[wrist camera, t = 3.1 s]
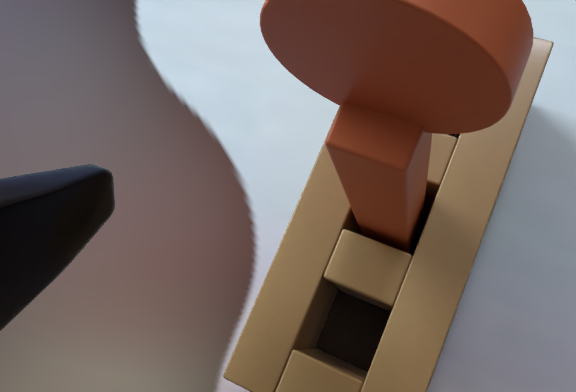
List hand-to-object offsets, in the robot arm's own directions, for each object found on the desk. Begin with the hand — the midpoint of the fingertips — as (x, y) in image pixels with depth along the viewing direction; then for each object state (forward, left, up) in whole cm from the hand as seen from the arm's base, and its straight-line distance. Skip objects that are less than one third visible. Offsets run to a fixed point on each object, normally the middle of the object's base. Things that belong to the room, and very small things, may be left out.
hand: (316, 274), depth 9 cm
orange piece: (+2, +2, -10) cm, 11 cm away
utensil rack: (+2, +2, -10) cm, 11 cm away
